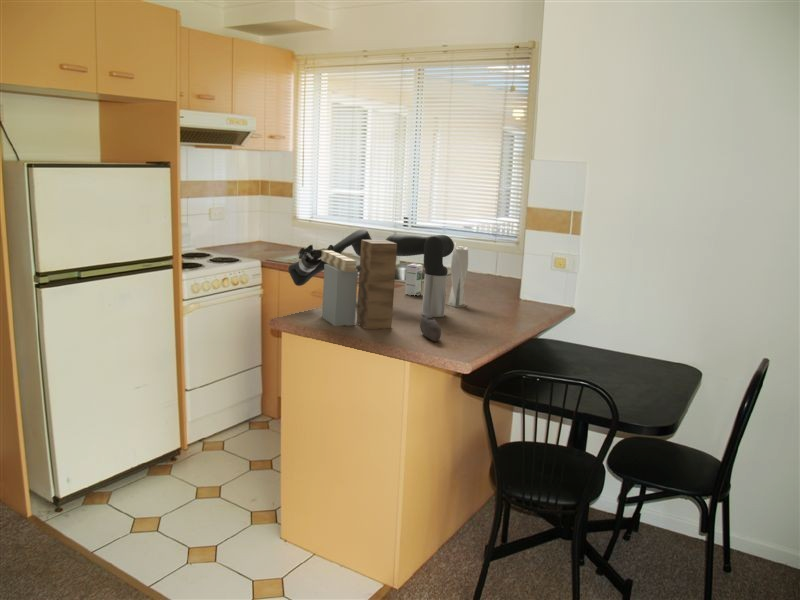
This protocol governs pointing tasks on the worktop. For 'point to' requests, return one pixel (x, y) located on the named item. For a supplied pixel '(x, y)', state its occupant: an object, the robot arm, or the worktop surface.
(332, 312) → the grey block
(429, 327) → the perforated stone tool
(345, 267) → the birch beam
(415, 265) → the syrup box
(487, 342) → the worktop surface
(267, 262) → the worktop surface
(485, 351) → the worktop surface
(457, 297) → the skyscraper
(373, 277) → the tall wooden tower
